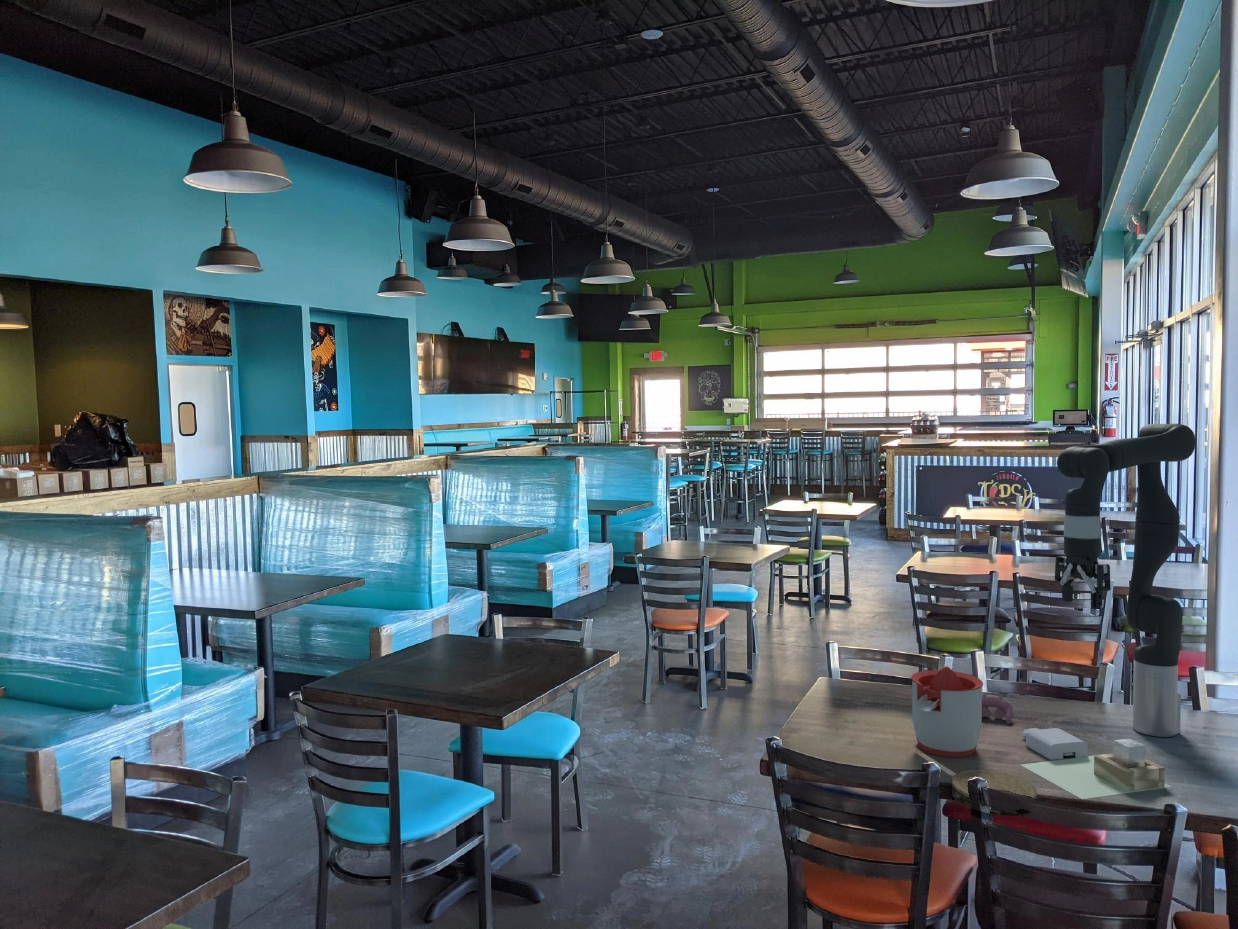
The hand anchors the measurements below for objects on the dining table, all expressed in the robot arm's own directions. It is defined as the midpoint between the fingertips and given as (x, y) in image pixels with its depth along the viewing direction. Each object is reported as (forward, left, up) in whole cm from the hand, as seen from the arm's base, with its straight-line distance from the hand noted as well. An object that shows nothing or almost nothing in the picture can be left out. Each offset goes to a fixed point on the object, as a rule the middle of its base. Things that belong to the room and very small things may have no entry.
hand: (1081, 605), depth 197 cm
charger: (+7, -3, -34) cm, 35 cm away
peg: (+4, +18, -33) cm, 38 cm away
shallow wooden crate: (+4, +18, -33) cm, 38 cm away
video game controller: (+5, -24, -34) cm, 42 cm away
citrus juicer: (+30, -8, -34) cm, 46 cm away
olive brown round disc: (+35, +16, -35) cm, 52 cm away
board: (+9, +14, -34) cm, 38 cm away
